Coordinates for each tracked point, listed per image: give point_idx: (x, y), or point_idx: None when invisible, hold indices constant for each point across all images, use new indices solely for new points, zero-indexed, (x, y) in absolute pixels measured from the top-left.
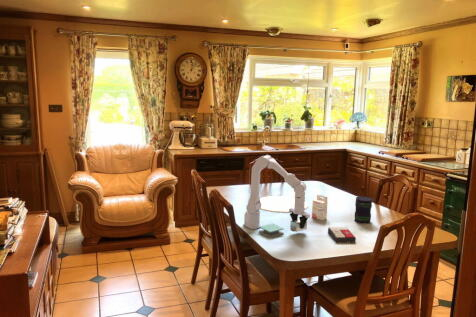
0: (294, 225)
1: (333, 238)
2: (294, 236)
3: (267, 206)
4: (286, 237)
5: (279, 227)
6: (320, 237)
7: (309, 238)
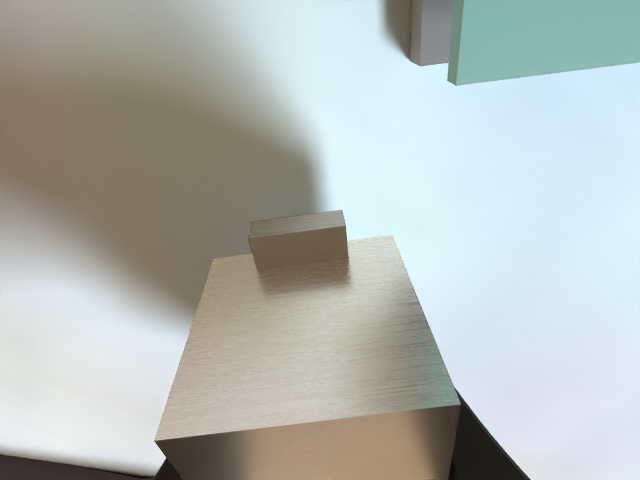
0: (258, 345)
1: (24, 473)
2: (232, 187)
3: None
4: (232, 5)
5: (611, 4)
6: (115, 412)
7: (100, 319)
